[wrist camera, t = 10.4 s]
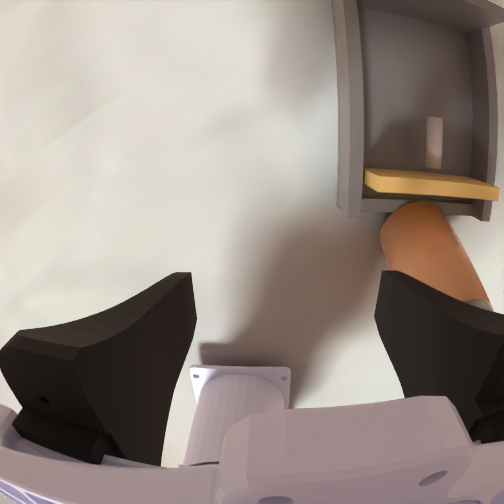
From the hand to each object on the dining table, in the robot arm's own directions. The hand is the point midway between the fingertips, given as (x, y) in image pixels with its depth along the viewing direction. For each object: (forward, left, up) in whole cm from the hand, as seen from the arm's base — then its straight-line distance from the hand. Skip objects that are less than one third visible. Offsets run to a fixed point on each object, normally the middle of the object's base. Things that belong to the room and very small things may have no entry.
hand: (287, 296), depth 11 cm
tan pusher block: (+3, -9, -9) cm, 13 cm away
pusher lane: (+8, -9, -9) cm, 15 cm away
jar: (0, -9, -8) cm, 12 cm away
